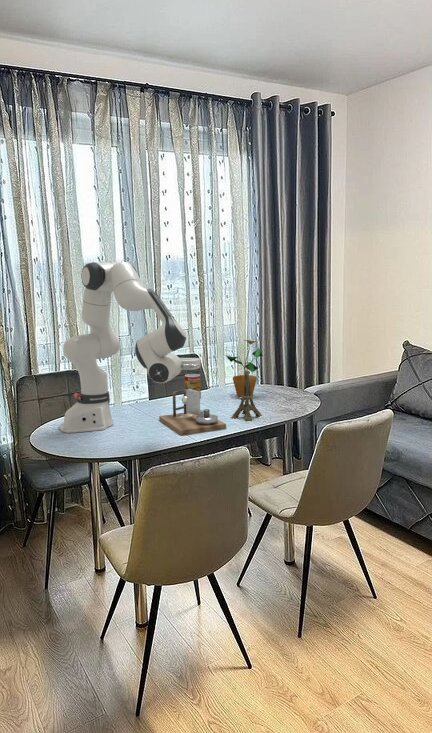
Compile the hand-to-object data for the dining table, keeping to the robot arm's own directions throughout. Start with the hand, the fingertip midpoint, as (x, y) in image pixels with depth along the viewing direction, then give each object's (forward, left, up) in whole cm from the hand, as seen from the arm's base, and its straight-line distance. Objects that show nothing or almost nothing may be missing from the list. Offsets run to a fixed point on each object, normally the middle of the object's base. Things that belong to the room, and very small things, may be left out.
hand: (177, 360), depth 222 cm
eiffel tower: (+36, +10, -30) cm, 48 cm away
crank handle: (+12, +9, -27) cm, 31 cm away
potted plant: (+54, +45, -30) cm, 76 cm away
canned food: (+29, +54, -30) cm, 68 cm away
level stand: (+10, +11, -30) cm, 33 cm away
